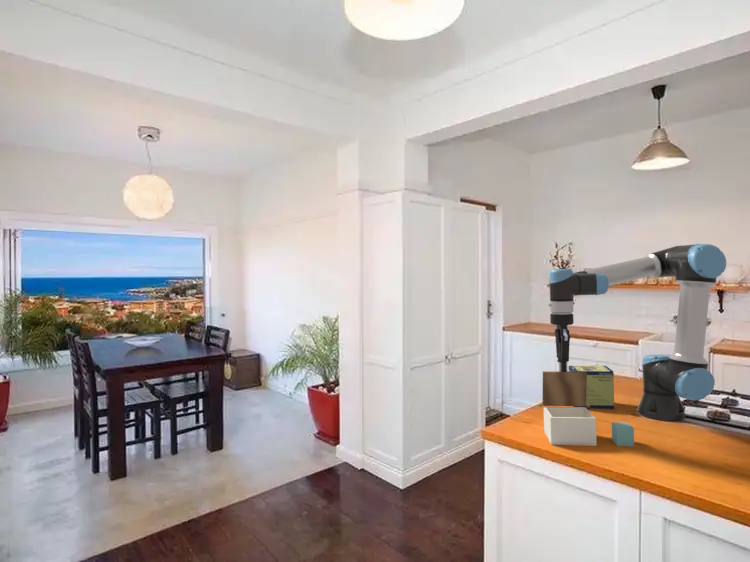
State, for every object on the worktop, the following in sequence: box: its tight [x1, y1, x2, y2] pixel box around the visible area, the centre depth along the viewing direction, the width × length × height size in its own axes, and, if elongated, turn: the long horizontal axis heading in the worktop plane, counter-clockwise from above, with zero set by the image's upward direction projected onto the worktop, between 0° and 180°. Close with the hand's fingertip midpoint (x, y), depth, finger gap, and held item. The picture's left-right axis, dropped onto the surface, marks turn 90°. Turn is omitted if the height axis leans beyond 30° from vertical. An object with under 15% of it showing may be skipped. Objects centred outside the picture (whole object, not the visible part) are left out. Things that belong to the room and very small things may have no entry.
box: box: [538, 403, 597, 447], centre depth 156 cm, size 17×12×10 cm
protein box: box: [568, 365, 615, 410], centre depth 191 cm, size 10×16×16 cm
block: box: [611, 421, 635, 447], centre depth 150 cm, size 5×5×6 cm
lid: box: [541, 370, 587, 407], centre depth 160 cm, size 14×13×1 cm
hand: (563, 379), depth 161 cm, fingers closed
